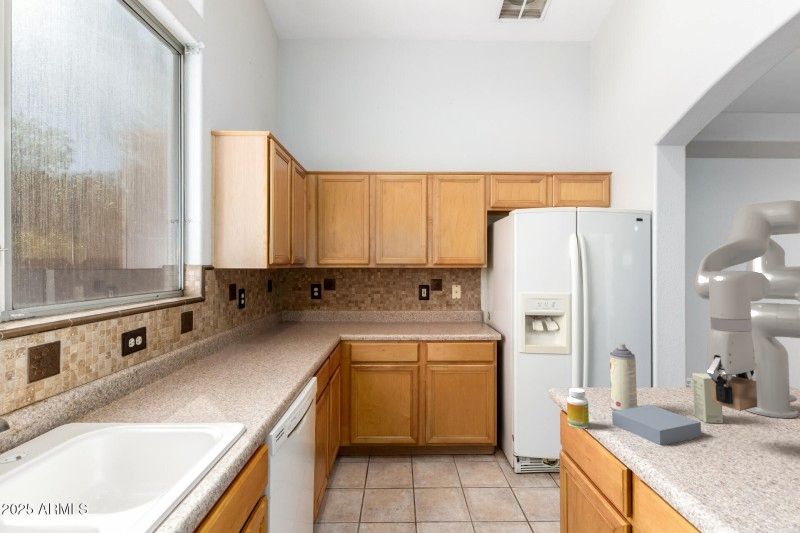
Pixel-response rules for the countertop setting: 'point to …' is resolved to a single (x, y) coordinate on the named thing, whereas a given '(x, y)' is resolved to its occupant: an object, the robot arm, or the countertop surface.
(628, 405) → the aerosol can
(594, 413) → the countertop surface
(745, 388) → the walnut cube
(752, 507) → the countertop surface
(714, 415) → the skincare box
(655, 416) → the slate base block
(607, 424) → the countertop surface
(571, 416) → the supplement bottle
